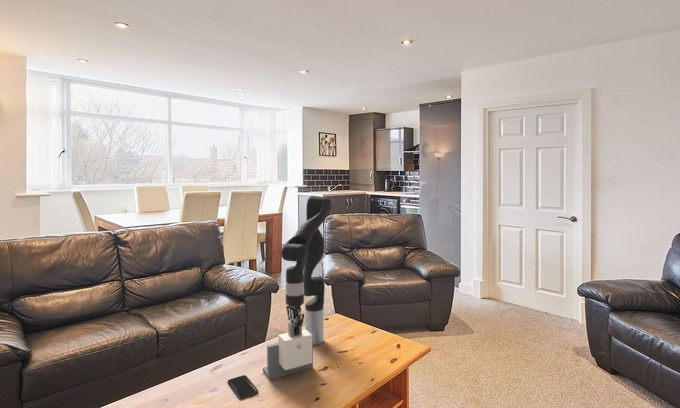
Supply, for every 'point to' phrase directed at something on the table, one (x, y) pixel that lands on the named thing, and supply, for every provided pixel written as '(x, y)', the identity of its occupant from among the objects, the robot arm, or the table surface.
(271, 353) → the wall board
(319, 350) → the table surface
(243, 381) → the phone
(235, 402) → the table surface
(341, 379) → the table surface
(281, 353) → the cabinet
